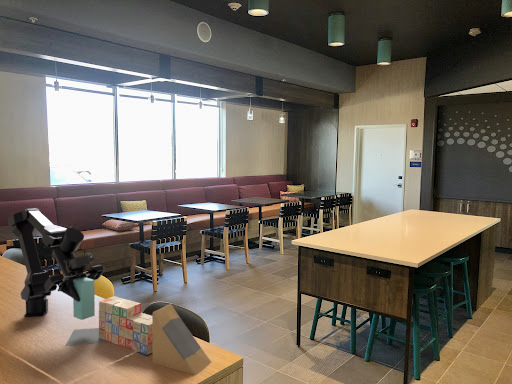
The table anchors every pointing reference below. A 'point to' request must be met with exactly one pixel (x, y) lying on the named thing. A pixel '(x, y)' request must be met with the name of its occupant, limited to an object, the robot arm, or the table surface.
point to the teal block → (84, 298)
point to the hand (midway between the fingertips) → (86, 299)
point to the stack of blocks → (125, 324)
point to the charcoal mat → (85, 337)
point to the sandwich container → (176, 343)
